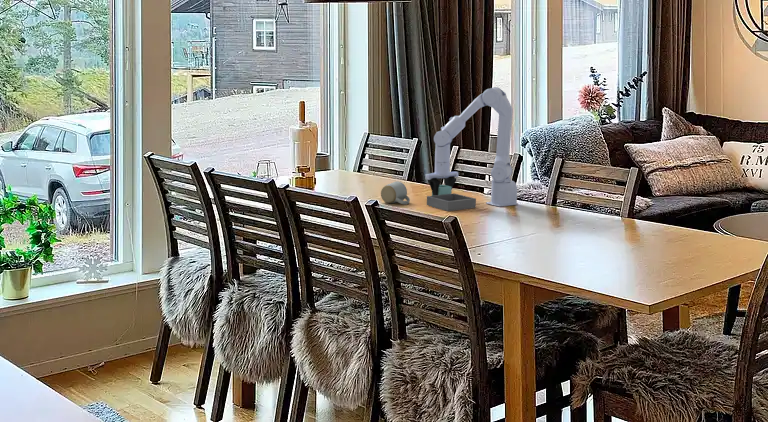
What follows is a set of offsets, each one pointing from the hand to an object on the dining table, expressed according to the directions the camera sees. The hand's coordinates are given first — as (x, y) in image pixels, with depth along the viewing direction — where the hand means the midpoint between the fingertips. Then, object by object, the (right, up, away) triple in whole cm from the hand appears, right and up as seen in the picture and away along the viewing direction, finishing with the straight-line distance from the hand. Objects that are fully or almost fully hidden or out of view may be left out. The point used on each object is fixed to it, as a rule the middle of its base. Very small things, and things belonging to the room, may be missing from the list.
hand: (441, 196), depth 365 cm
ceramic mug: (-17, -3, -6) cm, 19 cm away
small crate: (0, -1, 0) cm, 1 cm away
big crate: (+3, -4, -13) cm, 14 cm away
